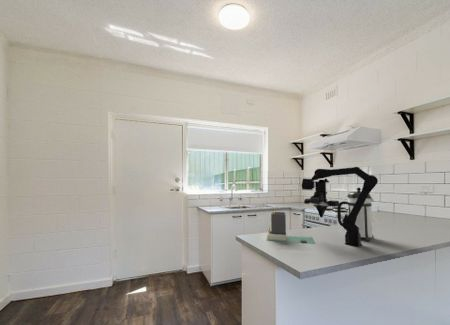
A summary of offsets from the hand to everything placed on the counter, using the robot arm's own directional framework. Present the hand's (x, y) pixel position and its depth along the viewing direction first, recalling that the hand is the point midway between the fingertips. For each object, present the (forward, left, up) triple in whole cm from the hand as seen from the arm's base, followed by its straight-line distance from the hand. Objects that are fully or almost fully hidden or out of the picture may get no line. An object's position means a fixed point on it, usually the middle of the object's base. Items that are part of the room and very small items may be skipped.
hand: (321, 217), depth 131 cm
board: (+11, +15, -13) cm, 23 cm away
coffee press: (-11, -22, -13) cm, 28 cm away
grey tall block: (+17, +18, -12) cm, 28 cm away
